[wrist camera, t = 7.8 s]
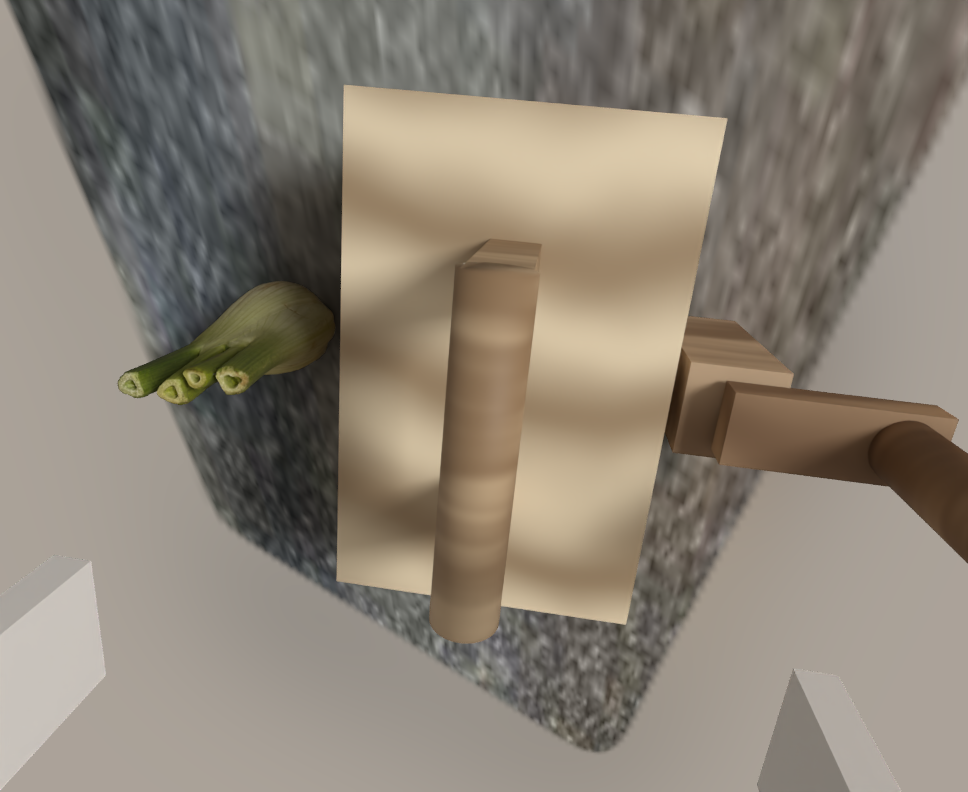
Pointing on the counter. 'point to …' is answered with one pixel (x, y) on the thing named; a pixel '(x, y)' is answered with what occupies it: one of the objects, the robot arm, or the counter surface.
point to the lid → (510, 345)
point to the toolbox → (714, 379)
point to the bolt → (851, 446)
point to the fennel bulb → (241, 346)
